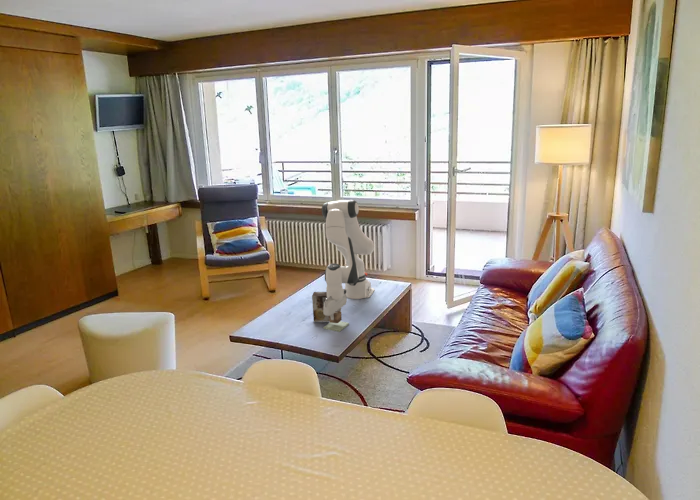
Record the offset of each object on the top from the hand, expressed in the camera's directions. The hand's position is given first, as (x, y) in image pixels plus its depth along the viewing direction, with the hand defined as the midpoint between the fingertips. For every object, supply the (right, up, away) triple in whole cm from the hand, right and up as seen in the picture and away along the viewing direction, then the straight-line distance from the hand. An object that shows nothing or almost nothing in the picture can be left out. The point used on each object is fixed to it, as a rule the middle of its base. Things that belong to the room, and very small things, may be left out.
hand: (335, 317), depth 275 cm
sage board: (0, -5, +1) cm, 5 cm away
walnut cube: (0, -2, +1) cm, 2 cm away
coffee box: (-8, -3, +11) cm, 14 cm away
